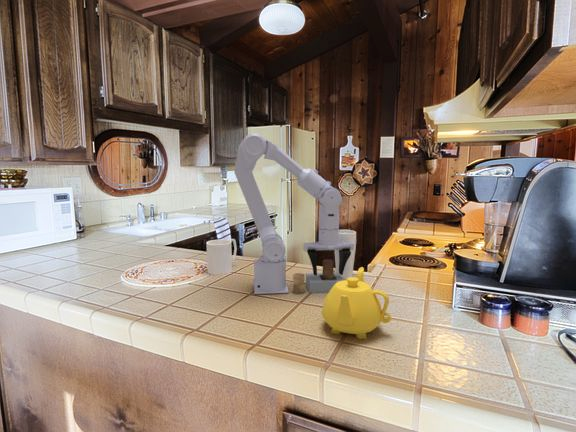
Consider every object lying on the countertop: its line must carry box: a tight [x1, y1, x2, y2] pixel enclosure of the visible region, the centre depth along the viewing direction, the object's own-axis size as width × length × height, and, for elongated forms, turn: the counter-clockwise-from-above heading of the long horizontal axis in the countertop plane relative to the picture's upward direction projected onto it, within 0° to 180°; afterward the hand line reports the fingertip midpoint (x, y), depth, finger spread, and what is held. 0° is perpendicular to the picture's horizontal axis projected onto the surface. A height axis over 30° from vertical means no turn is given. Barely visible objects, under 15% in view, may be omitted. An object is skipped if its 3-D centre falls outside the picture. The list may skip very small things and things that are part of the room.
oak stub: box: [292, 272, 305, 295], centre depth 97 cm, size 3×3×5 cm
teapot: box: [321, 266, 392, 340], centre depth 74 cm, size 20×15×12 cm
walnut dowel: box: [322, 259, 335, 280], centre depth 100 cm, size 3×3×8 cm
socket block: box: [305, 272, 343, 294], centre depth 100 cm, size 10×8×3 cm
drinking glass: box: [334, 229, 357, 280], centre depth 108 cm, size 7×7×15 cm
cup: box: [206, 238, 238, 276], centre depth 117 cm, size 8×12×10 cm
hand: (328, 274), depth 100 cm, fingers open, 7 cm apart
